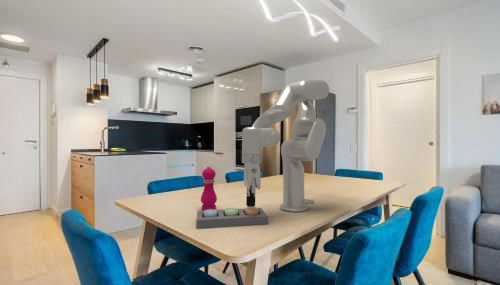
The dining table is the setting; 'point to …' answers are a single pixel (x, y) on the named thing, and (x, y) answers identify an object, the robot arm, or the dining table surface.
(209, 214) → the blue button
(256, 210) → the terracotta button
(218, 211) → the button panel
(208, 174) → the pepper mill
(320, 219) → the dining table surface
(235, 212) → the sage button
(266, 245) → the dining table surface
